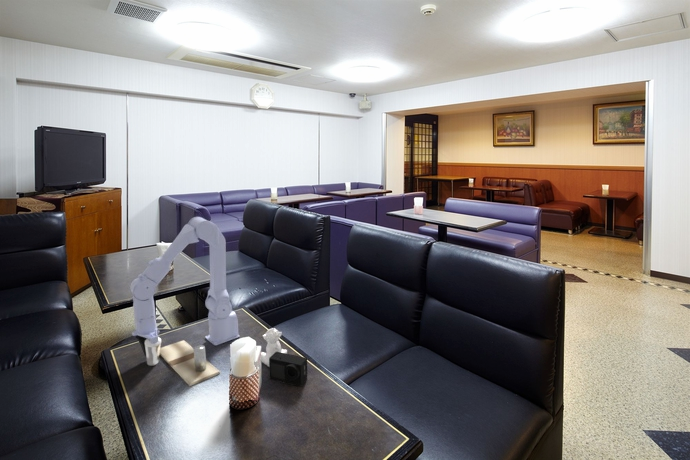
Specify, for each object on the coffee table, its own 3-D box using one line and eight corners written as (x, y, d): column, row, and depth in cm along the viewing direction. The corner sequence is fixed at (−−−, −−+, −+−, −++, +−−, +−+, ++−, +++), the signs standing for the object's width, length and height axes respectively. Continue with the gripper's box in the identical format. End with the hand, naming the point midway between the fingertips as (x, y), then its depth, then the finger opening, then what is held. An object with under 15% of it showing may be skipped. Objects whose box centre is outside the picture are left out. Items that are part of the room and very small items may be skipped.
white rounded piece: (165, 357, 121) (166, 332, 117) (155, 368, 116) (155, 343, 112) (151, 353, 121) (152, 328, 117) (141, 365, 116) (141, 339, 112)
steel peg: (203, 364, 117) (202, 344, 115) (208, 369, 114) (206, 347, 113) (193, 368, 114) (191, 347, 113) (197, 373, 112) (196, 351, 111)
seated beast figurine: (286, 353, 126) (286, 319, 123) (291, 367, 118) (290, 331, 115) (257, 357, 123) (256, 323, 120) (260, 372, 115) (259, 335, 112)
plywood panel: (184, 342, 131) (183, 339, 131) (219, 373, 113) (219, 370, 113) (156, 351, 125) (156, 348, 125) (189, 386, 107) (189, 383, 107)
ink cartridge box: (258, 400, 102) (256, 351, 99) (239, 401, 101) (237, 351, 98) (262, 381, 110) (261, 335, 107) (245, 382, 110) (243, 335, 106)
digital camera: (267, 381, 110) (266, 360, 109) (276, 371, 115) (275, 350, 114) (299, 389, 107) (298, 367, 105) (307, 378, 112) (307, 357, 110)
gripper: (123, 312, 119) (128, 351, 122) (138, 327, 109) (142, 370, 112) (147, 306, 124) (151, 343, 127) (163, 320, 114) (167, 361, 117)
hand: (149, 355), depth 120 cm, fingers closed
